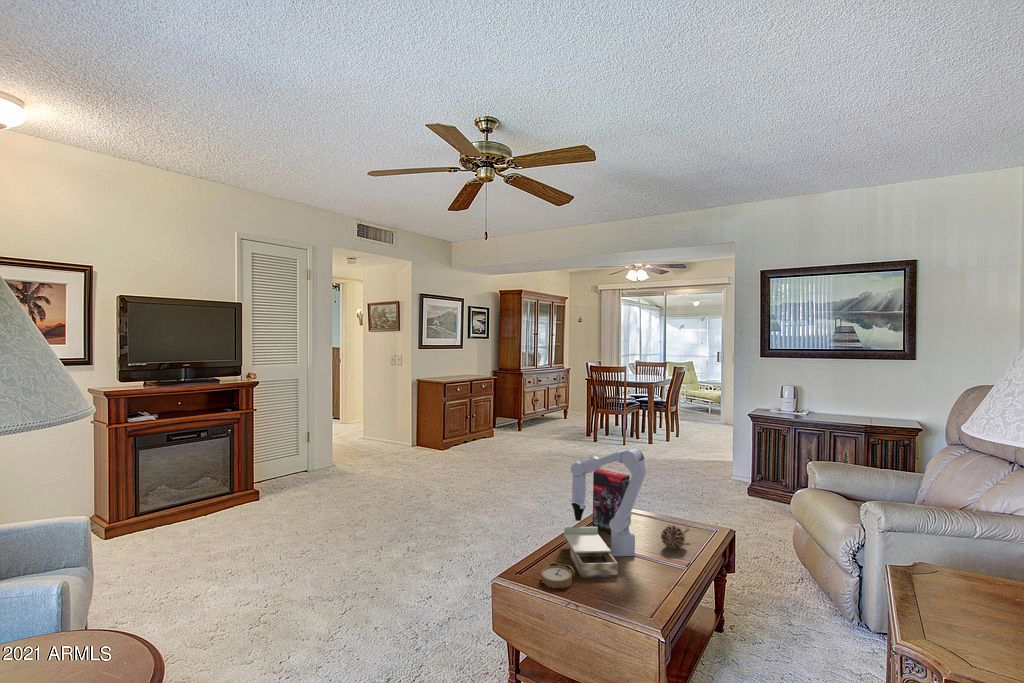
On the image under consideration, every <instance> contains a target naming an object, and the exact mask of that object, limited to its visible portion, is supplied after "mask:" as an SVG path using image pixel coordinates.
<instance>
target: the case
mask: <svg viewBox="0 0 1024 683" xmlns="http://www.w3.org/2000/svg"><path fill="white" fill-rule="evenodd" d="M569 554H570V556H569V557H570V560H571V562H572V564H573V566H574V567H575V569H576V570H577V573H578V574H579V577H580V578H581V579H583V578H585V579H586V578H589V579H590V578H617V577H619V562H618V561H617V560H616V558H615V556H613V555H612V554H611V553H610V552H595V553H575V552H574V551H573V549H572V547H571V546H570V553H569Z"/></svg>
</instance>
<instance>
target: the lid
mask: <svg viewBox="0 0 1024 683" xmlns="http://www.w3.org/2000/svg"><path fill="white" fill-rule="evenodd" d="M563 530H564V531H563V543H569V545H570V548H571V547H572V549H573V551H574V552H575V553H595V552H611V550H610V549H609V548H610V547H608V545H607V544H606V543H605V541H604V540H603V538H602V537H601V536H600V535H599V532H598V531H599V529H598V527H592V526H568V527H567V526H565V527H564V528H563Z"/></svg>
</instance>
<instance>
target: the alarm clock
mask: <svg viewBox="0 0 1024 683" xmlns="http://www.w3.org/2000/svg"><path fill="white" fill-rule="evenodd" d="M540 572H541V573H540V576H541V579H540V581H541V580H542V582H541V584H542V583H544V584H545V585H548V586H551V587H556V588H563V587H567V588H569V587H570V586H571V585H572V584H573V578H574V577H575V569H574V568H573V567H572V566H571V565H569V564H566V563H558V562H550V564H548V566H546V567H544V568H543V569H542V570H541V571H540ZM545 585H544V586H545ZM568 586H569V587H568ZM563 589H564V588H563Z"/></svg>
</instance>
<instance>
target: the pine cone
mask: <svg viewBox="0 0 1024 683" xmlns="http://www.w3.org/2000/svg"><path fill="white" fill-rule="evenodd" d="M688 532H691V529H690V527H689V526H686V527H685V528H684V530H682V529H681V528H680V527H676V526H675V525H670V524H668V525H666V527H664V528H662V531H660V535H661V536H660V540H661V543H663V545H665V547H667V548H668V549H672V550H673V549H679V548H681V546H683V545H684V544H685V541H686V539H685V538H686V535H685V534H687V533H688Z"/></svg>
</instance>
